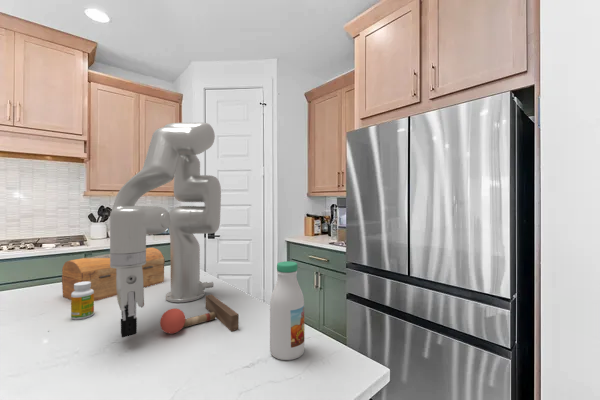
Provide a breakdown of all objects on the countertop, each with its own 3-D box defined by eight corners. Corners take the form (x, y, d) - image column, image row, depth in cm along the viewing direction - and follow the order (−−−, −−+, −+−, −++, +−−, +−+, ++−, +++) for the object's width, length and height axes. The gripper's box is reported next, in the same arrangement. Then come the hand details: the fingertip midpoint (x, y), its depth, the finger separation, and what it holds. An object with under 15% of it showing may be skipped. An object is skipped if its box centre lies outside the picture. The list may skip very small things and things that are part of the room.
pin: (180, 326, 80) (212, 317, 86) (182, 329, 78) (215, 320, 84) (180, 318, 80) (212, 310, 85) (183, 321, 78) (215, 313, 84)
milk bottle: (278, 365, 61) (278, 268, 61) (264, 348, 68) (264, 261, 68) (310, 355, 65) (310, 264, 65) (294, 340, 72) (294, 258, 72)
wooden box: (142, 277, 130) (142, 245, 130) (165, 283, 122) (165, 249, 122) (59, 296, 105) (59, 257, 105) (81, 305, 96) (81, 262, 96)
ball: (172, 300, 78) (153, 317, 77) (175, 310, 73) (155, 329, 72) (188, 313, 81) (170, 330, 79) (192, 324, 76) (173, 342, 74)
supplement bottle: (81, 320, 84) (81, 286, 83) (66, 319, 85) (65, 285, 85) (98, 313, 89) (98, 281, 89) (83, 312, 90) (83, 280, 90)
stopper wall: (211, 306, 94) (211, 294, 94) (238, 329, 78) (238, 314, 78) (205, 308, 93) (205, 295, 93) (231, 331, 77) (231, 316, 77)
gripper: (151, 262, 68) (151, 342, 68) (141, 252, 80) (141, 320, 80) (112, 266, 63) (113, 352, 64) (107, 255, 76) (108, 327, 76)
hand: (128, 334), depth 72 cm, fingers closed
